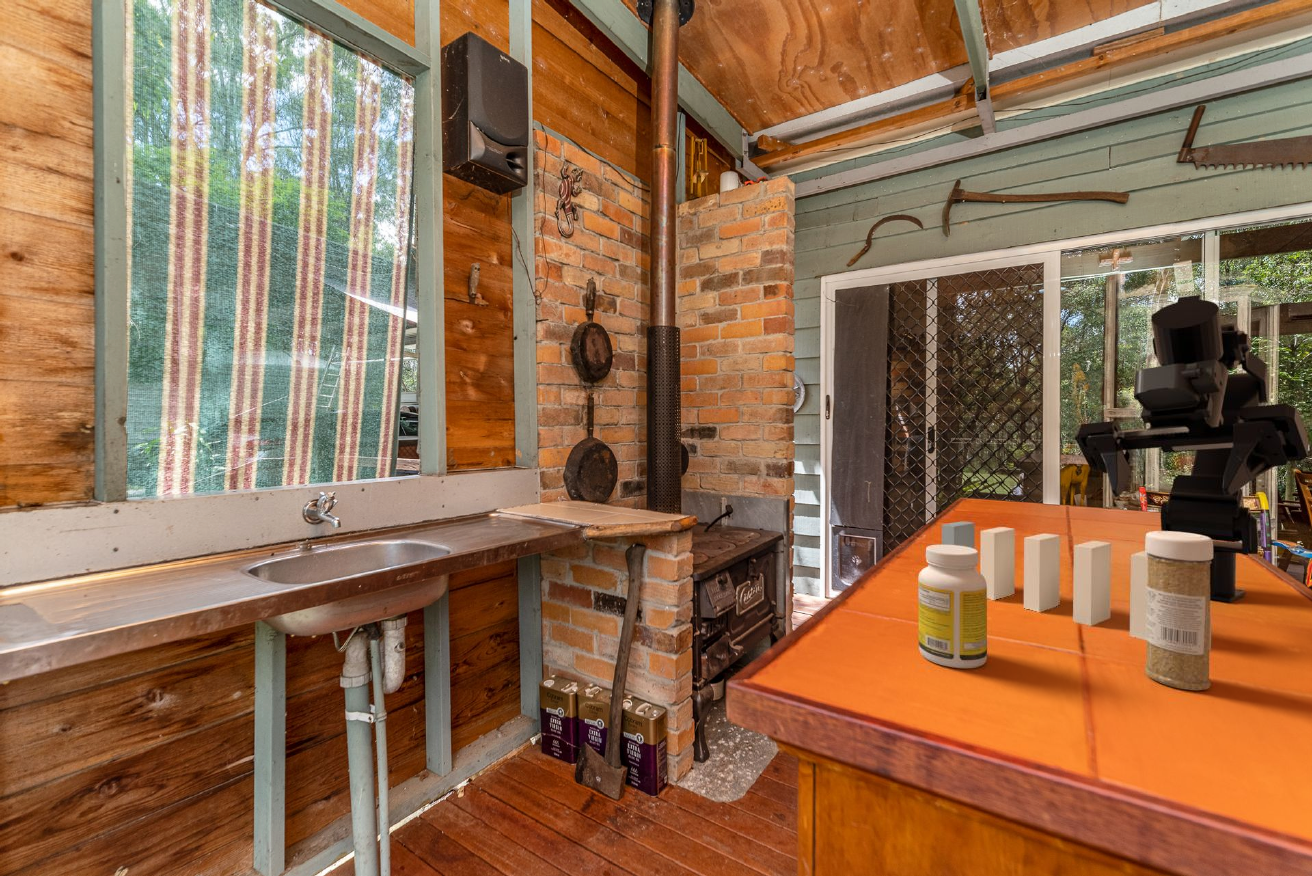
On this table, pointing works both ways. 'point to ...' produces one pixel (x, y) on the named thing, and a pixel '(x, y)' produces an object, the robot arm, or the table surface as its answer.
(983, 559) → the domino
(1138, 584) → the domino
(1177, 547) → the spice jar
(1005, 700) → the table surface
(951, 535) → the domino
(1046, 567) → the domino
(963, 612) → the pill bottle
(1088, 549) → the domino
